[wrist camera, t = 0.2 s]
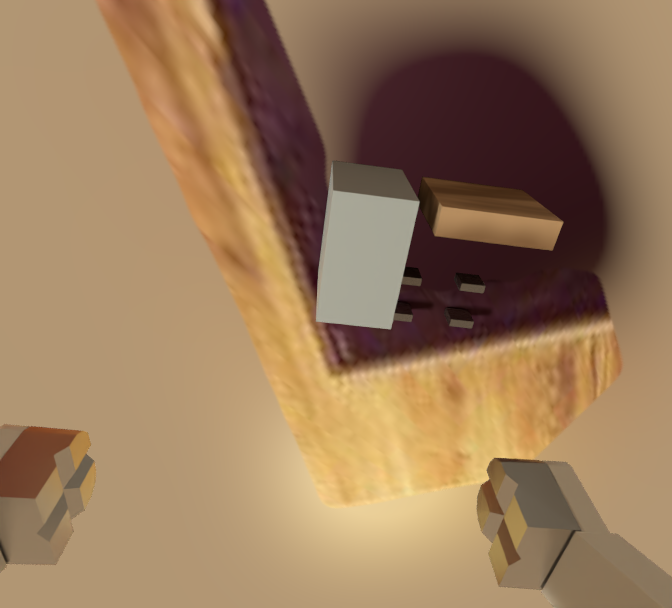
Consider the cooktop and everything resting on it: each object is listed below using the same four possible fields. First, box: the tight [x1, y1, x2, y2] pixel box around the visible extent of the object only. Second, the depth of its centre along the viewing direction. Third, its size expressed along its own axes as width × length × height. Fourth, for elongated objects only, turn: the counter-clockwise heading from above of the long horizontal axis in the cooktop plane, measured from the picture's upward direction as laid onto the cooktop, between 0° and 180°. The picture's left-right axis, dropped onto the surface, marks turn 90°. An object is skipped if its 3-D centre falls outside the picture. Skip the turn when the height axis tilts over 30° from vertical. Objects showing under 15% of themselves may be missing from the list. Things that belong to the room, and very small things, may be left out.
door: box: [418, 177, 563, 250], centre depth 51 cm, size 4×12×11 cm, turn 82°
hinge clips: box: [393, 267, 485, 328], centre depth 60 cm, size 6×11×3 cm, turn 82°
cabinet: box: [316, 161, 420, 329], centre depth 51 cm, size 14×8×12 cm, turn 172°
